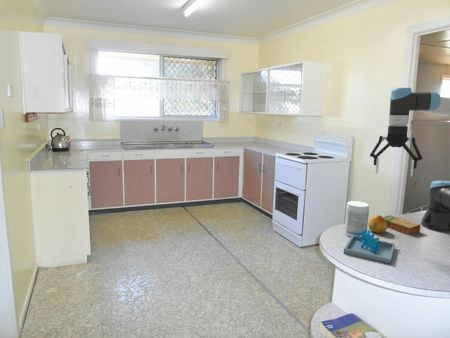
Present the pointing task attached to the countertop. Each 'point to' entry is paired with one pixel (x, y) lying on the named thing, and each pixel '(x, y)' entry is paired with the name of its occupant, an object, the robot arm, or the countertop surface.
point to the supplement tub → (356, 218)
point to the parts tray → (356, 250)
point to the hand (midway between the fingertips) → (393, 174)
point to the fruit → (377, 224)
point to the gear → (370, 241)
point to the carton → (402, 225)
